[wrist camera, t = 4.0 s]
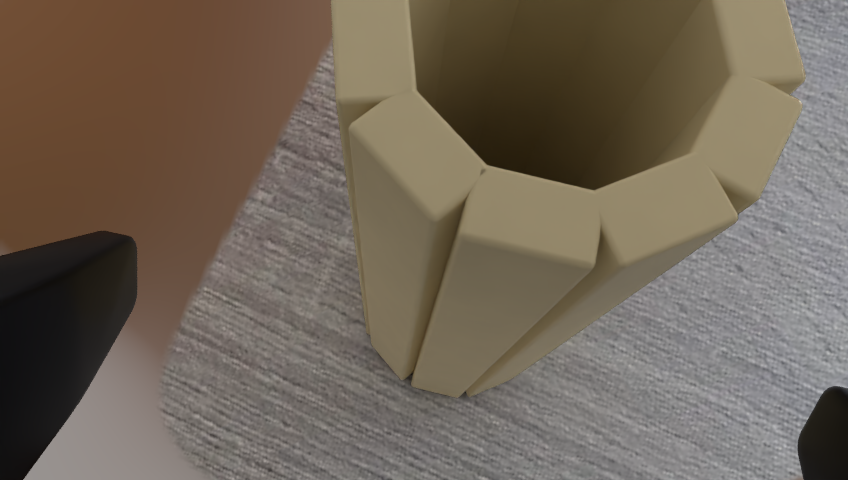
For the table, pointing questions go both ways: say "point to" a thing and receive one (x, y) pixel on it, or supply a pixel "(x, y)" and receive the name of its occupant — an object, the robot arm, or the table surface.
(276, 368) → the table surface
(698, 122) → the tube
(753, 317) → the table surface
